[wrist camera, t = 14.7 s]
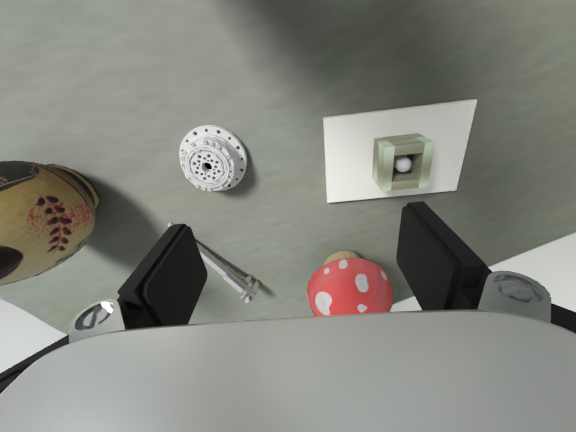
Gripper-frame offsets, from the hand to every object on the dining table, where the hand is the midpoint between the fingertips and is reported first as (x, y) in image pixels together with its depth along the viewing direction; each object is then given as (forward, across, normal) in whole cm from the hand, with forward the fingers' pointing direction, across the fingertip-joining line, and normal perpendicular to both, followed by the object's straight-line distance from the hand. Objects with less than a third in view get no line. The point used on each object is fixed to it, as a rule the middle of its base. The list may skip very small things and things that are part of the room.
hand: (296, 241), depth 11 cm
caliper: (+29, +17, +22) cm, 40 cm away
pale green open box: (+27, -14, +6) cm, 31 cm away
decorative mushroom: (+28, -6, +25) cm, 38 cm away
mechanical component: (+29, +13, +4) cm, 32 cm away
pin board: (+28, -14, +6) cm, 32 cm away
